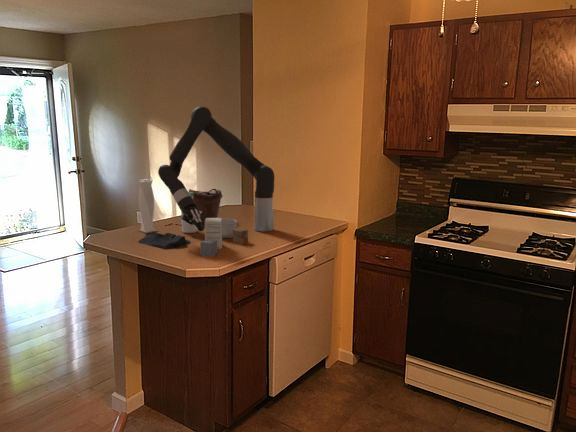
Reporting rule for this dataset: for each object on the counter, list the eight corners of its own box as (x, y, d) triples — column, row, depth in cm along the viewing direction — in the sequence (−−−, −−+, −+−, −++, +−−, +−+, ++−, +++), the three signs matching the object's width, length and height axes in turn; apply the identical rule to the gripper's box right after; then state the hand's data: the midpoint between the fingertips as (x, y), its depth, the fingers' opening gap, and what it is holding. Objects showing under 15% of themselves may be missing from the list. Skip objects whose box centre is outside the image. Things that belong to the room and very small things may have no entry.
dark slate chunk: (160, 237, 242) (160, 227, 241) (193, 244, 230) (193, 234, 229) (135, 243, 230) (134, 233, 229) (168, 251, 218) (168, 240, 217)
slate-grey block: (207, 252, 216) (207, 239, 214) (217, 254, 214) (216, 240, 212) (200, 255, 211) (200, 241, 210) (210, 257, 209) (210, 243, 208)
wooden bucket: (229, 218, 283) (229, 187, 279) (206, 225, 266) (205, 192, 263) (206, 215, 292) (205, 185, 289) (181, 221, 276) (180, 189, 272)
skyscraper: (159, 231, 251) (158, 176, 245) (145, 234, 245) (143, 177, 239) (150, 228, 256) (148, 174, 251) (136, 231, 250) (134, 175, 245)
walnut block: (240, 240, 237) (240, 228, 236) (248, 242, 234) (248, 229, 233) (232, 242, 233) (232, 229, 232) (240, 244, 230) (240, 231, 229)
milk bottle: (193, 233, 247) (193, 194, 243) (179, 232, 249) (178, 193, 245) (199, 230, 255) (198, 191, 251) (185, 229, 256) (184, 190, 252)
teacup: (240, 235, 247) (240, 219, 245) (231, 240, 237) (230, 223, 235) (215, 232, 251) (215, 217, 250) (204, 237, 241) (204, 221, 239)
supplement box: (206, 244, 228) (205, 217, 226) (222, 244, 229) (222, 217, 226) (204, 249, 221) (204, 221, 218) (221, 249, 222) (221, 221, 219)
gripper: (176, 197, 226) (194, 227, 221) (199, 193, 236) (216, 223, 231) (169, 207, 231) (187, 237, 226) (191, 203, 241) (209, 232, 236)
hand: (202, 230), depth 228 cm, fingers closed
